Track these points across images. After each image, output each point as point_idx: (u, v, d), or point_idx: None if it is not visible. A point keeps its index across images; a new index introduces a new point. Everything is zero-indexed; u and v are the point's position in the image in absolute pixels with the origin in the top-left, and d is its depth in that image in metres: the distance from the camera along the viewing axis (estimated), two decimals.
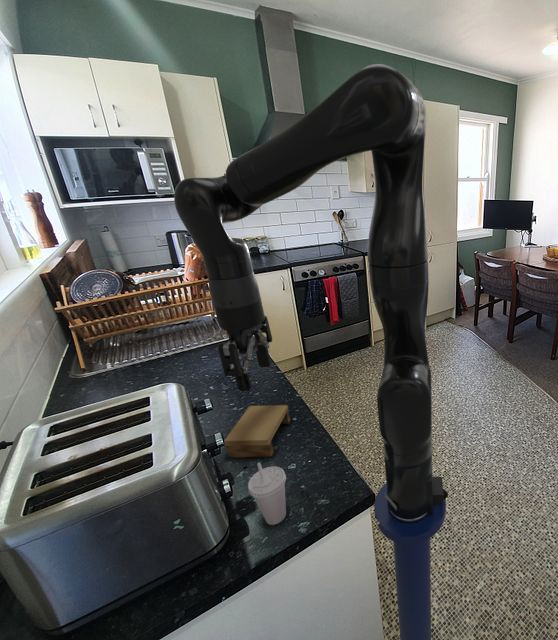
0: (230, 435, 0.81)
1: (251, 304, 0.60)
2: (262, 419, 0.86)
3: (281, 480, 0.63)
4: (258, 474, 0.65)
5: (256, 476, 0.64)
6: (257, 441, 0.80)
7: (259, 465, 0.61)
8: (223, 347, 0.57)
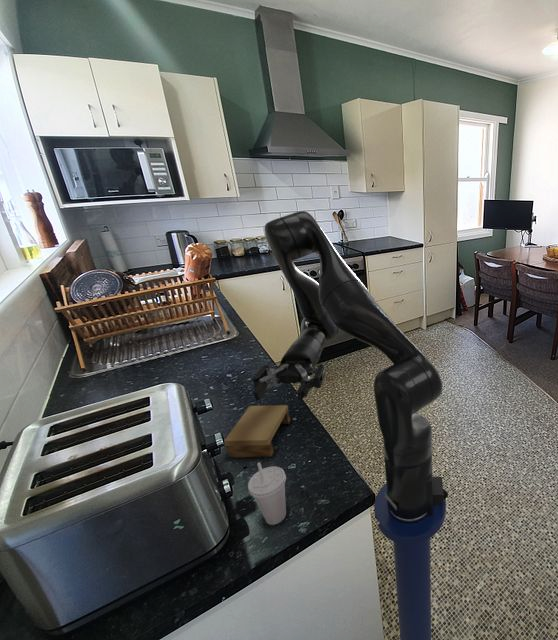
0: (230, 435, 0.81)
1: (292, 345, 0.82)
2: (262, 419, 0.86)
3: (281, 480, 0.63)
4: (258, 474, 0.65)
5: (256, 476, 0.64)
6: (257, 441, 0.80)
7: (259, 465, 0.61)
8: None
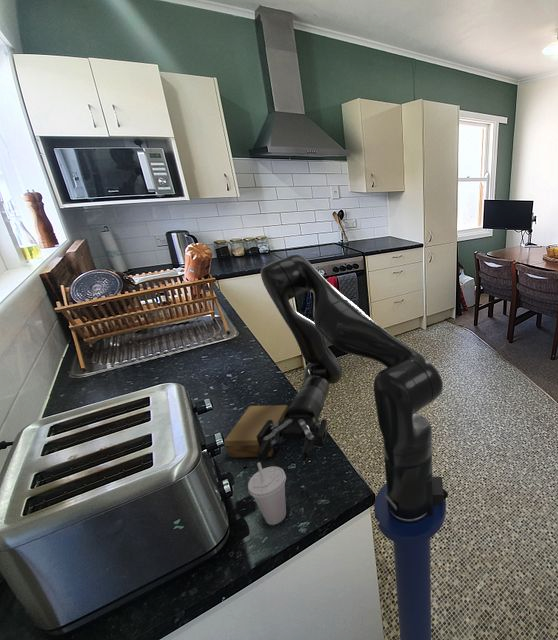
0: (230, 435, 0.81)
1: (296, 397, 0.84)
2: (262, 419, 0.86)
3: (281, 480, 0.63)
4: (258, 474, 0.65)
5: (256, 476, 0.64)
6: (257, 441, 0.80)
7: (259, 465, 0.61)
8: None
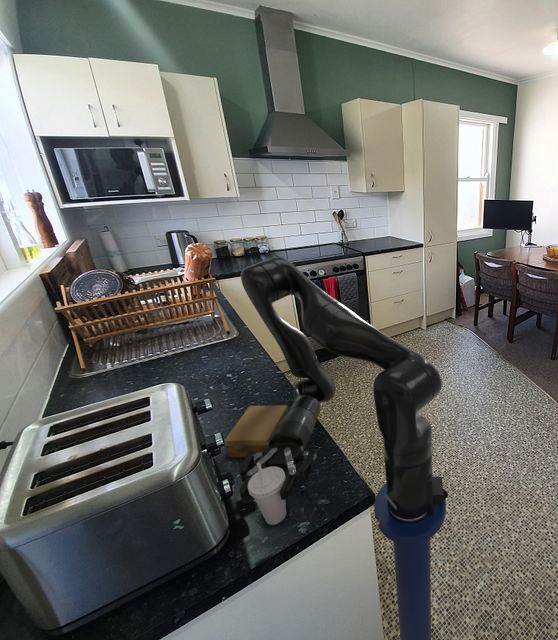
0: (230, 435, 0.81)
1: (282, 422, 0.76)
2: (262, 419, 0.86)
3: (281, 480, 0.63)
4: (258, 474, 0.65)
5: (256, 476, 0.64)
6: (257, 441, 0.80)
7: (259, 465, 0.61)
8: None
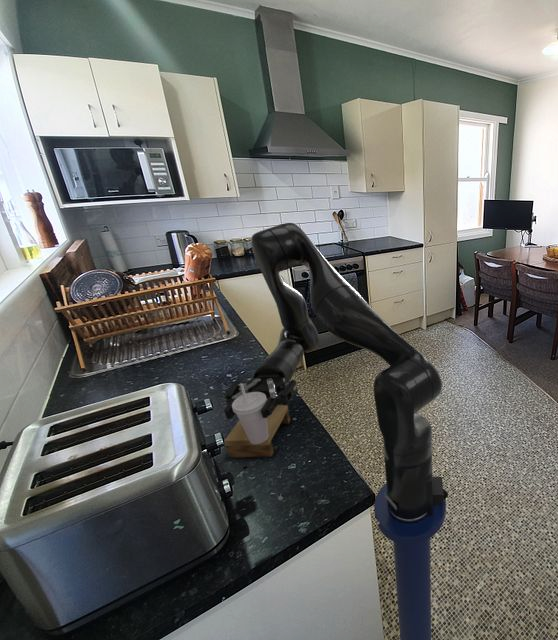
0: (230, 435, 0.81)
1: (266, 358, 0.81)
2: None
3: (262, 401, 0.69)
4: (242, 397, 0.71)
5: (240, 398, 0.70)
6: None
7: (241, 385, 0.67)
8: None
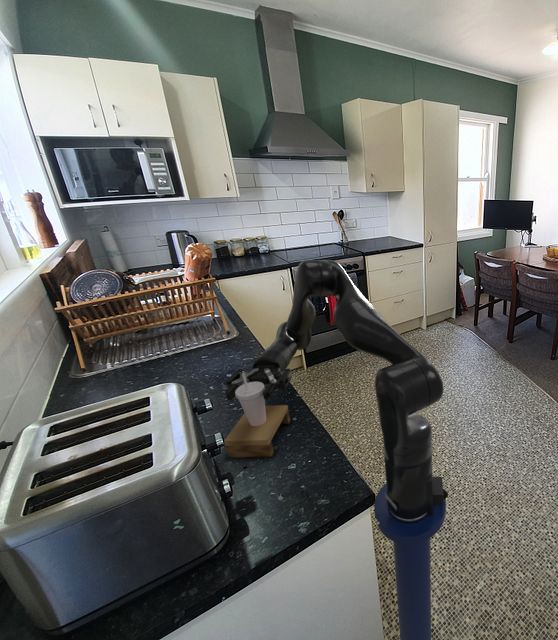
0: (230, 435, 0.81)
1: (264, 352, 0.93)
2: None
3: (261, 389, 0.81)
4: (243, 386, 0.83)
5: (242, 387, 0.82)
6: (257, 441, 0.80)
7: (243, 375, 0.80)
8: None
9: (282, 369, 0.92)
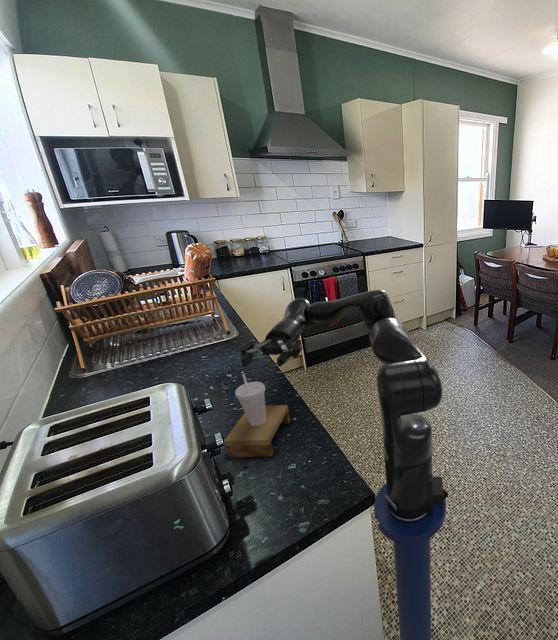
0: (230, 435, 0.81)
1: (275, 325, 0.98)
2: None
3: (261, 389, 0.81)
4: (243, 386, 0.83)
5: (242, 387, 0.82)
6: (257, 441, 0.80)
7: (243, 375, 0.79)
8: None
9: (293, 341, 0.96)
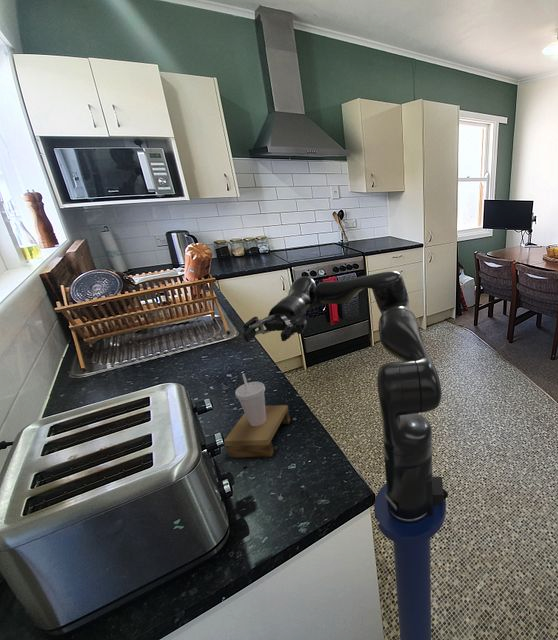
0: (230, 435, 0.81)
1: None
2: None
3: (261, 389, 0.81)
4: (243, 386, 0.83)
5: (242, 387, 0.82)
6: (257, 441, 0.80)
7: (243, 375, 0.79)
8: None
9: (297, 318, 0.92)
